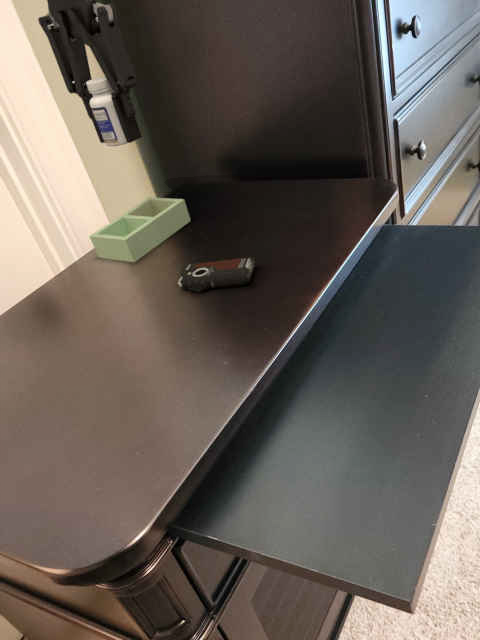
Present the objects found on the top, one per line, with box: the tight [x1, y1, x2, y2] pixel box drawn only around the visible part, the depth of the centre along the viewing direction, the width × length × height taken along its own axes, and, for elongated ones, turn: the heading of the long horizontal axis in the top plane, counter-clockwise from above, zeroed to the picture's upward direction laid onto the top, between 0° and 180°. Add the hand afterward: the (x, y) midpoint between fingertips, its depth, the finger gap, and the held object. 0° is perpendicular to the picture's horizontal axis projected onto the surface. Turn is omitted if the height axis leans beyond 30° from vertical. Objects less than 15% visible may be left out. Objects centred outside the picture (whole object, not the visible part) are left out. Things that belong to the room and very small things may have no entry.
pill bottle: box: [86, 75, 128, 147], centre depth 82 cm, size 5×5×9 cm
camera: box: [177, 256, 256, 293], centre depth 77 cm, size 6×3×11 cm
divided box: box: [89, 196, 192, 263], centre depth 93 cm, size 8×16×4 cm, turn 152°
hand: (121, 139), depth 85 cm, fingers closed on pill bottle, 5 cm apart
